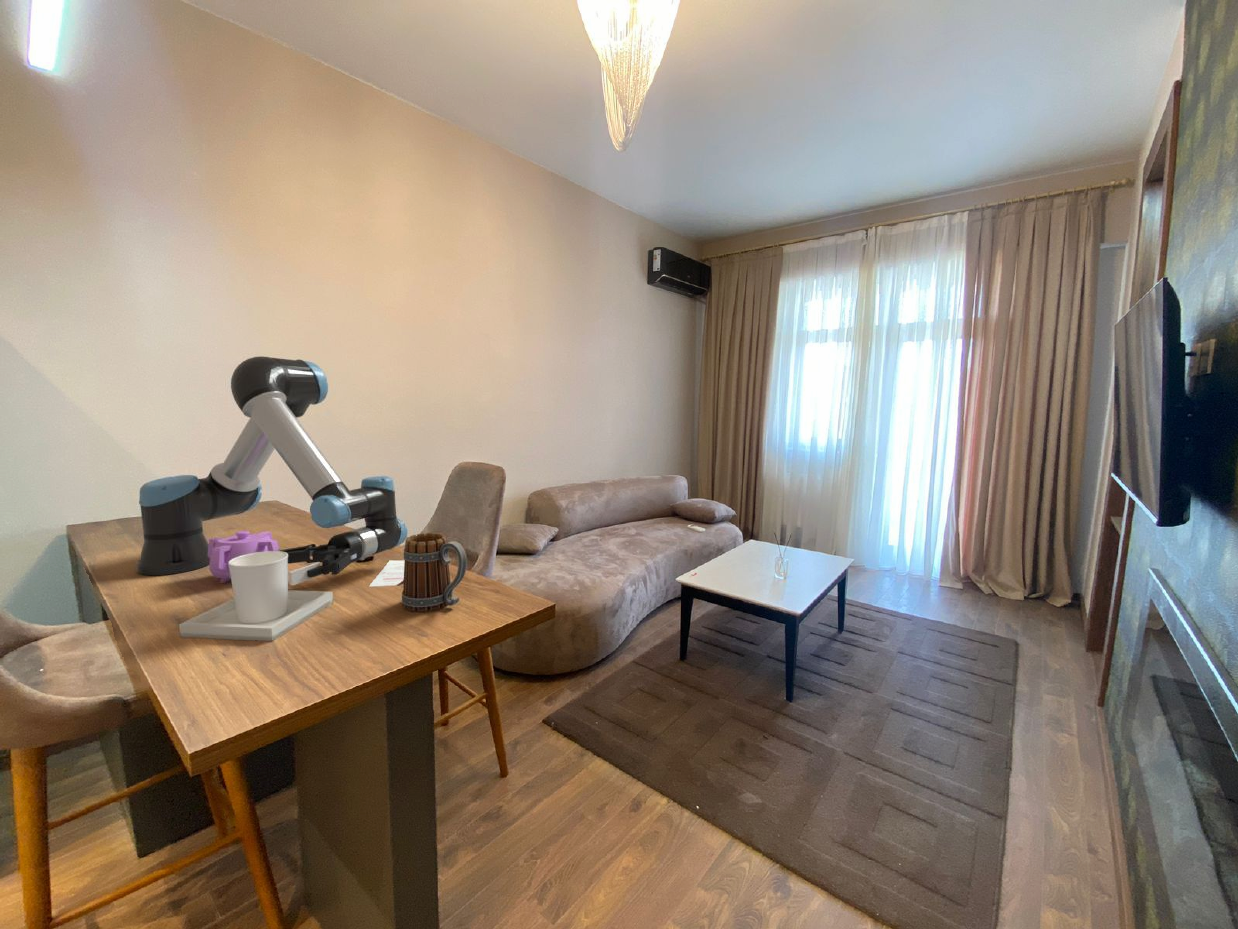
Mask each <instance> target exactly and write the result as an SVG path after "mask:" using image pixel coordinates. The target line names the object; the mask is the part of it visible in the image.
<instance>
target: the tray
mask: <svg viewBox="0 0 1238 929" xmlns="http://www.w3.org/2000/svg"><path fill="white" fill-rule="evenodd" d="M333 593H334V592H333V591H322V590H321V591H320V590H319V591H318V590H299V589H298V590H297V589H296V590H294V589H288V610H287V612H286V613H285V614H284V615H283V616H281V617H279V618H276V619H274V620H270V621H267V622H262V623H254V624H246V623H241V622H239V621H238V618H237V613H236V607H235V601H234V598H232V599H230V600H228V601H226V602H224V603H221V604H220V605H216V606H215V607H213V608H210V609H209V610H206V611H204V612H202V613H200V614H199V615H196V616H194V617H192V618H190V619H188V620H186V621H184V622H182V623H180V624H178V626H179V636H180V638H190V639H191V638H194V639H209V640H210V639H212V640H213V639H214V640H234V641H236V640H237V641H255V640H257V642H258V641H260V642H262V641H264V642H273V641H276V640H277V639H278V638H280V637H282V636H284V635H285V634H286V633H288V632H290V631H291V630H292V629H294V628H296V627H297V626H299V625H300V623H301V624H302V623H303V622H305V621H306V619H307V620H308V619H311V616H312V617H313V616H314V614H315V615H316V614H318V613H319V612H321V611H323V610H324V609H326V608H327V607H329V606H330V605H332V604H333V603H334V594H333ZM332 602H333V603H332ZM331 603H332V604H331ZM326 606H327V607H326ZM325 607H326V608H325Z"/></svg>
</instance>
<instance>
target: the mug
mask: <svg viewBox="0 0 1238 929" xmlns="http://www.w3.org/2000/svg"><path fill="white" fill-rule="evenodd" d="M404 543H405V544H404V549H403V560H404V563H403V564H404V566H403V587H402V589H403V590H402V593H401V602H402V606H403V608H405V609H406V610H408V611H411V612H415V613H425V612H426V613H427V612H433V611H437V610H440V609H443V608H445V607H447V606H449V607H452V606H454V605H456V604H457V603H459V601H460V596H456V595H455V596H453V591H454V590H455V588H456V587H458V585H459V584H460V583H461V582H462V580H463V579H464V577H465V574H466V572H467V565H468V562H467V560H468V559H467V553H466V550H465V549H464V547H463V546H462V544H461V543H459V542H458V541H453V540H452V541H448V542H447V539H446V536H445V534H441V533H437V532H435V533H433V532H426V533H423V532H422V533H418V534H417V535H416V534H413V535H410V536H407V538H406V540H405V541H404ZM449 549H452V550H454V552H455V553H456V556H457V560H458V566H457V572H456V575H455V577H454V579H453V580H452V582H451V573H450V565H449V564H450V562H451V561H452V559H451V558H450V556H449Z"/></svg>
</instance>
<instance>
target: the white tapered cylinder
mask: <svg viewBox="0 0 1238 929" xmlns="http://www.w3.org/2000/svg"><path fill="white" fill-rule="evenodd" d="M228 566H229V570H230V576H231V581H230V582H231V587H232V593H233V599H234V601H235V607H236V613H237V618H238V621H239V622H241V623H246V624H254V623H262V622H267V621H270V620H274V619H276V618H279V617H281V616H283V615H284V614H285V613H286V612H287V610H288V590H289V564H288V554H287V553H286V552H282V551H264V552H256V553H250V554H246V555H242V556H238V557H236V558H233V559H231V560H230V561H229V562H228Z"/></svg>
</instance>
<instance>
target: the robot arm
mask: <svg viewBox="0 0 1238 929" xmlns="http://www.w3.org/2000/svg"><path fill="white" fill-rule="evenodd" d="M327 380H328V379H327V376H326V374H325V372H324V370H323V369H322V368H321V367H320V366H319V365H318V364H317V363H315V362H311V361H307V360H303V359H287V358H277V357H270V356H263V355H262V356H261V355H260V356H254V357H250V358H247V359H245V360H243V361H241V363H240V364H238V365H237V366H236V367H235V369H234V370H233V373H232V375H231V379H230V389H231V390H230V391H231V394H232V397H233V400H234V401H235V403H236V405H237V406H238V408H239V409H240V410H239V411H241V412H242V414H243V415H244V416H245V417H248V418H249V419H248V421H247V423H246V424H245V426H244V428H243V429H242V431H241V433H240V435H239V436H238V438H237V439H236V441H235V442H234V445H233V446H232V448H231V450H230V451H229V453H228V455H226V458H225V460H224V462H222V463H221V462H220V463H217V464H215V465H214V466H213V467H212V468H211V470H210V472H209V473H208V475H207V476H206V477H205V478H204V477H203V478H198V476H196V475H192V474H181V475H174V476H167V477H162V478H157V479H154V480H151V481H148V482H146V483H144V484H142V486H141V487H140V488H139V501H138V504H139V505H140V513H141V514H140V515H141V523H142V532H143V545H142V548H141V551H140V552H141V553H140V556H139V559H138V561H137V564H136V565H137V572H138V573H139V574H140V575H144V576H163V575H171V574H179V573H184V572H189V571H193V570H197V569H201V568H203V567H206V566H208V565H209V566H210V558H209V557H208V546H209V541H208V540H207V538H206V537H205V535H204V534H205V533H204V529H203V525H204V524H203V522H205V521H210V520H211V521H212V520H215V519H216V520H217V519H220V518H226V517H230V516H237V515H241V514H244V513H246V512H249V511H251V510H253V509H254V508H256V506H257V505H258V504H259V503H260V501H261V499H262V494H263V493H262V492H261V491H263V490H262V484H261V483H260V482H261V480H260V478H259V475H260V472H262V470H263V468H264V466H265V465H266V463H267V462H268V460H269V458H270V457H271V455H272V454H273V452H274V451H276V452H277V453H278V454H279V456H280V458H281V459H282V460H283V462H284V463H285V464H286V466H287V467H288V468H289V470H290V471H291V472H292V474H293V475H294V477H295V478H296V479H297V480H298V482H299V483H300V484H301V486H302V488H303V489H304V490H305V492H306V493H307V494H308V496H309V497H310V499H311V500H312V502H311V504H310V507H309V513H310V517H311V520H312V521H313V523H314V524H315V525H317V526H318V527H320V528H323V529H332V528H337V527H343V526H345V525H346V524H349V523H350V524H351V523H353V522H356V521H358V520H363V519H364V522H365V526H361V527H358V528H355V529H351V530H349V531H344V532H342V533H339V534H334V535H333V536H332V537H330V538H329V541H328V542H327V544H326V543H325V544H320V545H316V544H315V543H311V544H307V545H304V546H297V547H291V548H286V549H285V548H284V549H279V551H282V552H286V553H287V554H288V565H289V564H297V563H304V562H305V563H306V564H309V565H306V566H305V565H304V566H302V567H299V568H296V569H294V570H290V571H288V584H289V586H295V585H298V584H300V583H303V582H306V581H308V580H312V579H314V578H317V577H320V576H322V575H323V576H324V575H329V574H331V575H332V576H333V575H334V576H336V575H339V573H341V572H342V571H343V570H344V569H345V568H347V567H348V566H349V565H351V564H352V563H356V562H357V561H365V559H366V558H368V557H371V556H373V555H376V554H379V553H382V552H386V551H389V550H392V549H394V548H396V547H398V546H400V545H402V544H403V543H405V541H406V539H407V537H408V534H409V533H408V528H407V527H406V523H405V522H404V521H403V520H401V519H400V518H398V517H397V507H396V505H397V504H396V491H395V485H394V481H393V478H392V477H390V476H388V475H387V476H385V475H384V476H383V475H382V476H370V477H369V476H368V477H365V478H363V479H362V480H361V485H360V487H359V488H354V489H350V490H349V488H348V486H347V485H346V484H345V482H343V480H342V478H341V477H340V475H338V473H337V472H336V470H335V469H334V468H333V466H332V465H331V463H330V462H329V460H328V459H327V458H326V457H325V455H324V454H323V453H322V451H321V450H320V449H319V447H318V445H317V444H316V443H315V442H314V440H313V438H312V437H311V436H310V434H308V432H307V431H306V430H305V428H304V427H303V425H302V424H301V423H300V421H299V419H300V418H301V417H303V416H304V415H305V413H306V412H307V410H308V408H309V407H310V406H311V405H313V406H314V405H318V404H321V403H322V402H323V401H324V400H325V399H326V398H327V396H328V392H329V383H328V381H327ZM311 558H312V559H311Z"/></svg>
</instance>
